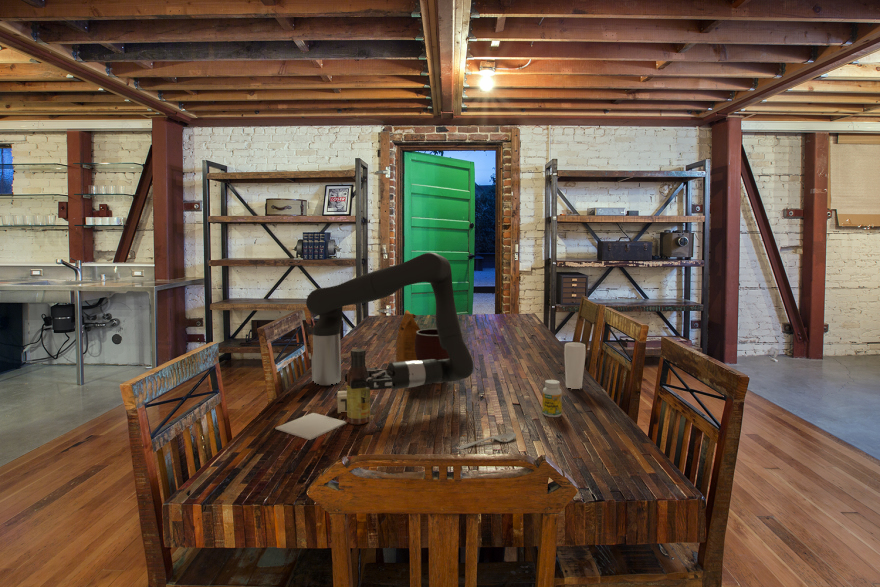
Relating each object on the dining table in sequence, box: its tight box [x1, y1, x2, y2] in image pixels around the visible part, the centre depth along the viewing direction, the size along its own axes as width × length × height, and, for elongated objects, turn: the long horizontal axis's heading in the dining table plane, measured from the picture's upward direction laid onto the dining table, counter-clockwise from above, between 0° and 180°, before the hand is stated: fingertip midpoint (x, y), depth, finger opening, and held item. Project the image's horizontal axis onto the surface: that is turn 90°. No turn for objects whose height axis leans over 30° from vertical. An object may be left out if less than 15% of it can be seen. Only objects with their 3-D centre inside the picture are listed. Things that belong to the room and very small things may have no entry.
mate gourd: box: [415, 328, 449, 384], centre depth 168 cm, size 16×14×20 cm
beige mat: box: [274, 412, 348, 441], centre depth 125 cm, size 13×13×1 cm
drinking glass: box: [563, 341, 586, 390], centre depth 157 cm, size 7×7×15 cm
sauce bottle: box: [346, 348, 371, 426], centre depth 127 cm, size 7×6×20 cm
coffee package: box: [395, 310, 421, 362], centre depth 184 cm, size 10×12×22 cm
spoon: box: [456, 432, 517, 450], centre depth 114 cm, size 4×21×2 cm, turn 114°
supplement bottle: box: [541, 379, 563, 418], centre depth 133 cm, size 5×5×10 cm
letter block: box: [336, 390, 347, 414], centre depth 137 cm, size 5×5×5 cm
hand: (347, 381), depth 126 cm, fingers closed on sauce bottle, 6 cm apart
